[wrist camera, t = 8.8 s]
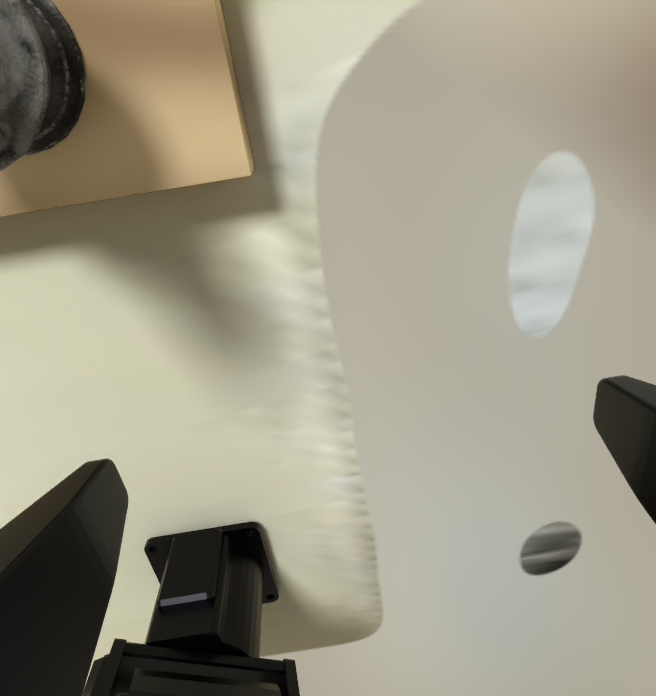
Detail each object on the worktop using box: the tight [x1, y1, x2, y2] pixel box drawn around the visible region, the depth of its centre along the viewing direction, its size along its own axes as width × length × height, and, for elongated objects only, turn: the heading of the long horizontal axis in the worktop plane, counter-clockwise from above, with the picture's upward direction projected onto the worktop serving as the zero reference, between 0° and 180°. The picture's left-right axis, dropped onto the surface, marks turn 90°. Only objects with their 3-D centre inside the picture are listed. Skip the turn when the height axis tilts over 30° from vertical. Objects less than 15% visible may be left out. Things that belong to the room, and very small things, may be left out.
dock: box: [0, 0, 254, 217], centre depth 16 cm, size 9×14×3 cm, turn 98°
